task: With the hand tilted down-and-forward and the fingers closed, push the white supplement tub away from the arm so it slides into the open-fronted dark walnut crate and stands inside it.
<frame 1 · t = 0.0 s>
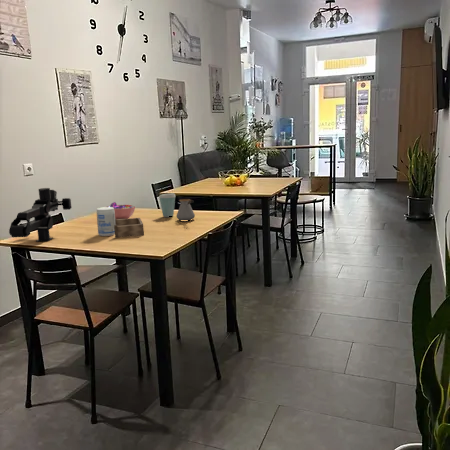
hand: (60, 201, 260), 17 cm above the table, tool horizontal, fingers open, 9 cm apart
walnut crate: (124, 232, 250), on the table
supplement tub: (107, 234, 247), on the table
disposable coffee cup: (168, 216, 293), on the table
cell model: (120, 219, 289), on the table
coffee pot: (188, 221, 275), on the table
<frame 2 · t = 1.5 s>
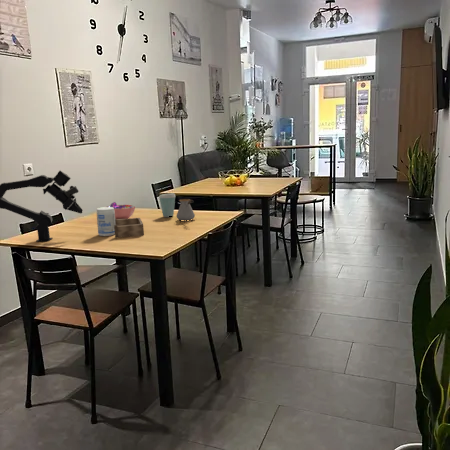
hand: (82, 211, 242), 14 cm above the table, tool tilted 45°, fingers open, 6 cm apart
nothing on the table moved.
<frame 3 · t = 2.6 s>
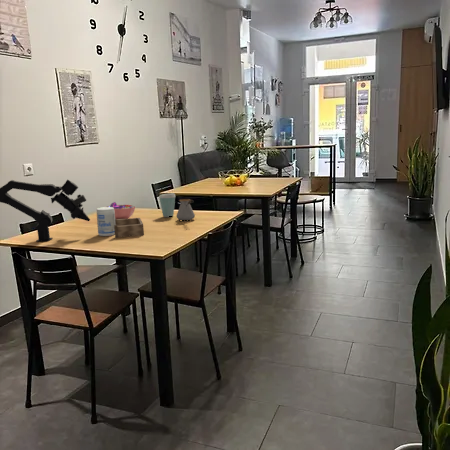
hand: (89, 220, 243), 9 cm above the table, tool tilted 45°, fingers closed
nothing on the table moved.
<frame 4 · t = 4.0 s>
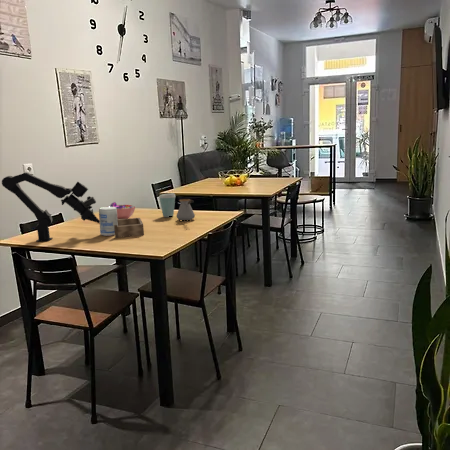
hand: (99, 222, 245), 7 cm above the table, tool tilted 45°, fingers closed, pressing on supplement tub
supplement tub: (109, 234, 248), on the table, touching gripper
everything else where it was.
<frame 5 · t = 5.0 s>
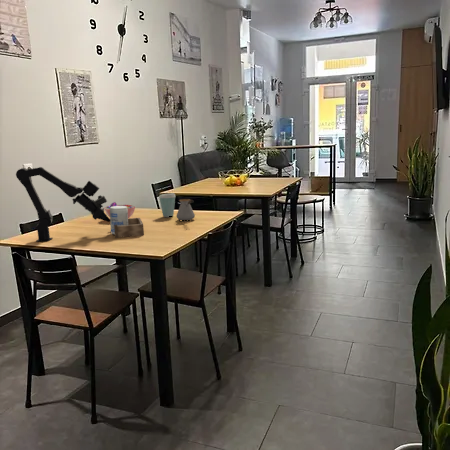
hand: (110, 221, 246), 7 cm above the table, tool tilted 45°, fingers closed, pressing on supplement tub
supplement tub: (120, 233, 249), on the table, touching gripper
everything else where it was.
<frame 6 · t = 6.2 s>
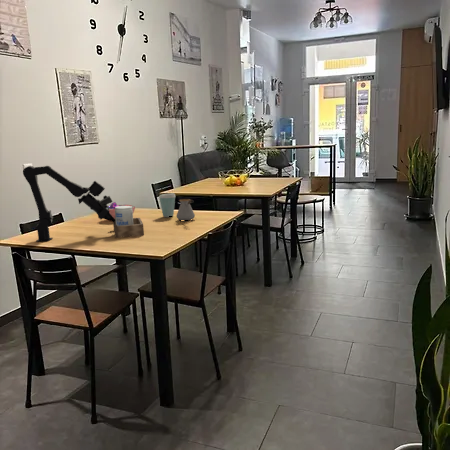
hand: (115, 221, 247), 7 cm above the table, tool tilted 45°, fingers closed
supplement tub: (125, 233, 250), on the table, touching gripper
everything else where it was.
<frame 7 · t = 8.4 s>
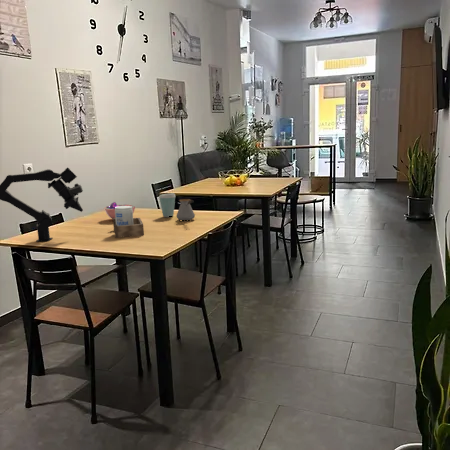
hand: (82, 211, 244), 14 cm above the table, tool tilted 35°, fingers closed
supplement tub: (125, 233, 250), on the table
everything else where it was.
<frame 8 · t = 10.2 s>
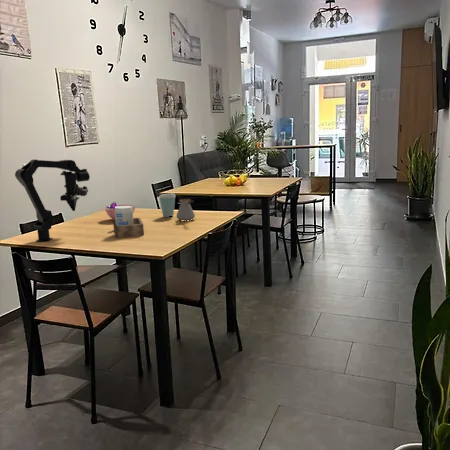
hand: (73, 210, 249), 13 cm above the table, tool pointing down, fingers closed
nothing on the table moved.
at the end: supplement tub 0.4 cm from the walnut crate (horizontally); supplement tub tilted 0°; supplement tub touching table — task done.
